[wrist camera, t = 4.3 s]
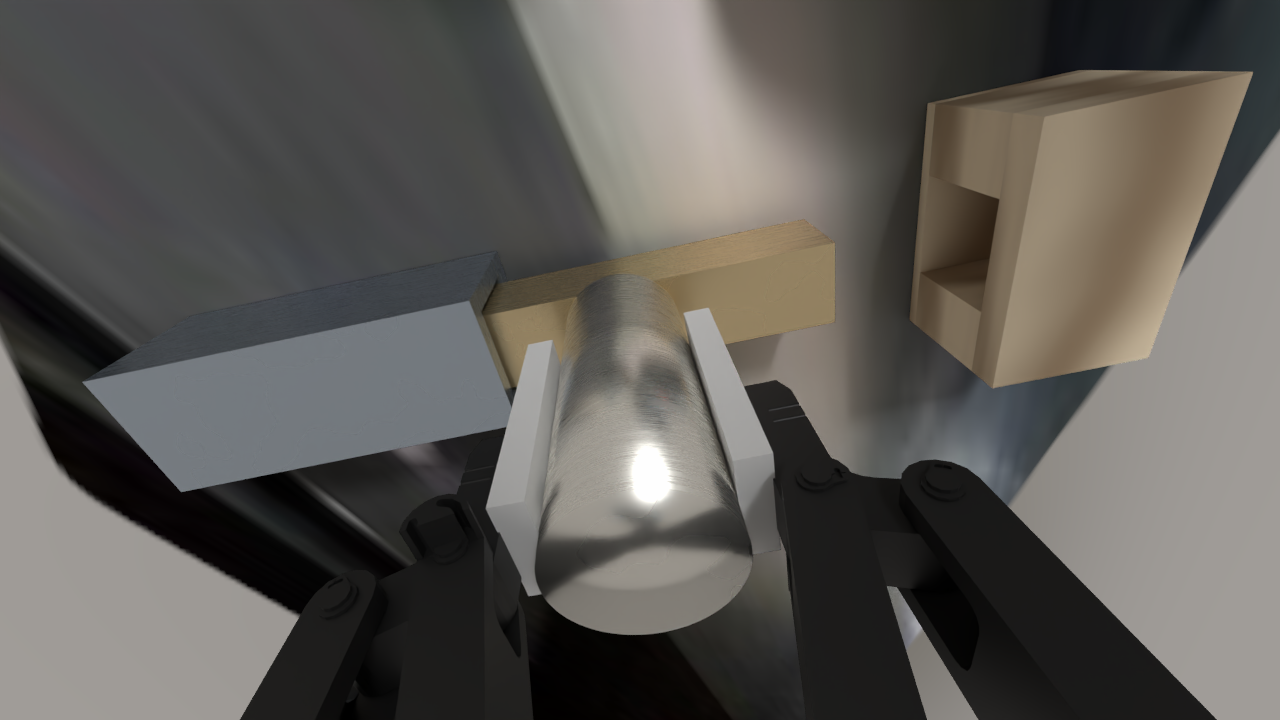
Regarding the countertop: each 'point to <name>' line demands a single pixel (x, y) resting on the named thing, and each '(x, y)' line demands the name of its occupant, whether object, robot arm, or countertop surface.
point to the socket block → (1064, 215)
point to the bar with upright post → (650, 418)
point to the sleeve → (316, 376)
